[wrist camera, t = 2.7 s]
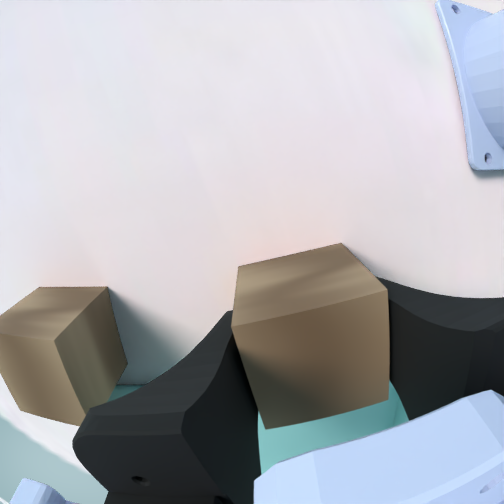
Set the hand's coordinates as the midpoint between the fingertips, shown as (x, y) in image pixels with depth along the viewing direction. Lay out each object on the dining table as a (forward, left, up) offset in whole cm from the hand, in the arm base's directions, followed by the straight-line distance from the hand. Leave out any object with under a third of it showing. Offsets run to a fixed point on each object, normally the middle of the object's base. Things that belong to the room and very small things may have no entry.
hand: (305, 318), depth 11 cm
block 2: (0, 0, -1) cm, 1 cm away
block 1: (+10, 0, -2) cm, 10 cm away
